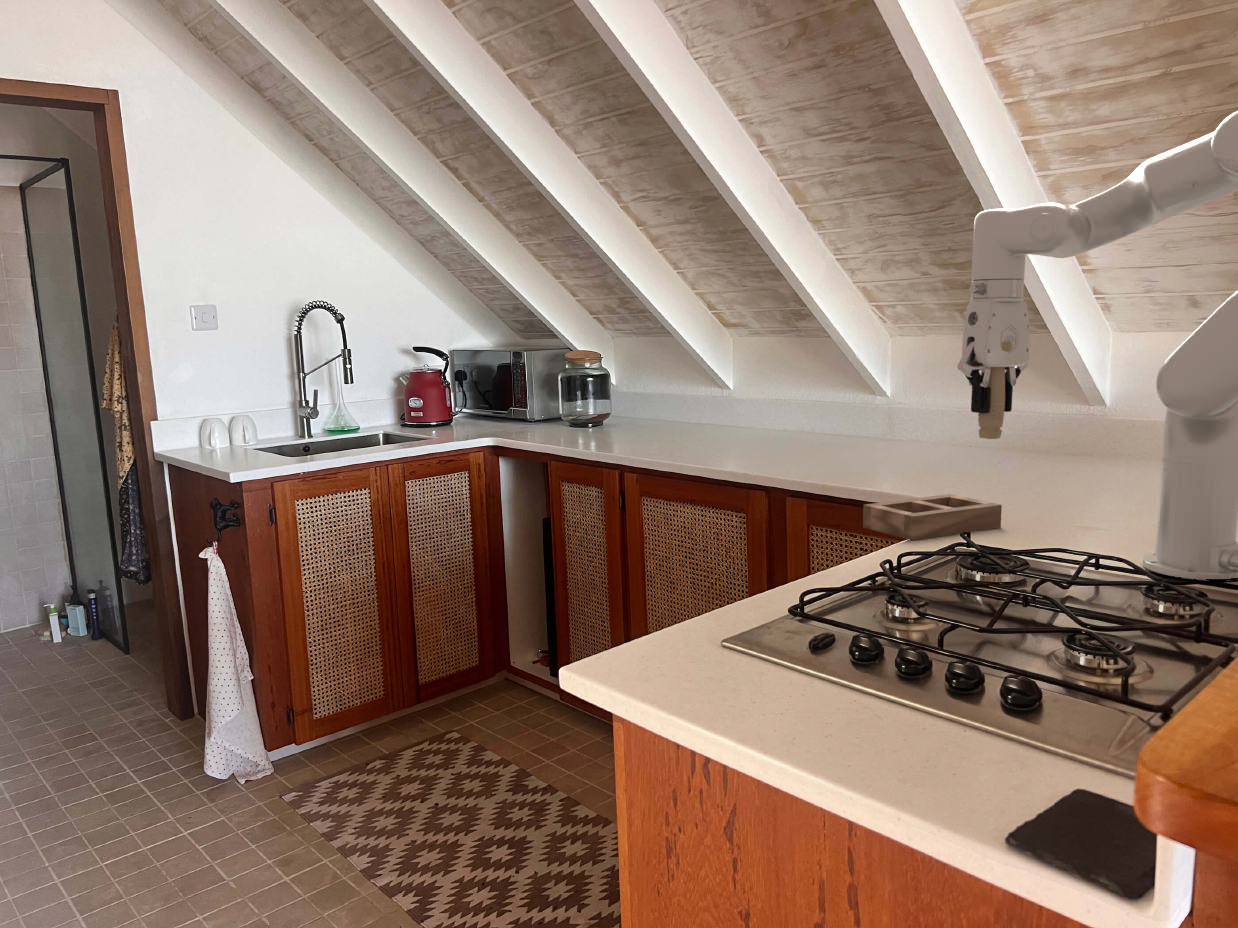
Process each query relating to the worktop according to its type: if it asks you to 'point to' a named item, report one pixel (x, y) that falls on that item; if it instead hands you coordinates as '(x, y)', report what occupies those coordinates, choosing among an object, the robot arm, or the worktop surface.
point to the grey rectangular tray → (931, 516)
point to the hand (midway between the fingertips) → (991, 410)
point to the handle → (994, 402)
